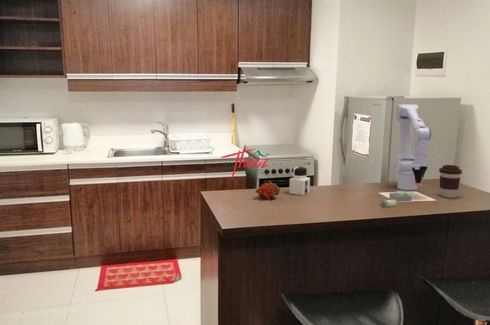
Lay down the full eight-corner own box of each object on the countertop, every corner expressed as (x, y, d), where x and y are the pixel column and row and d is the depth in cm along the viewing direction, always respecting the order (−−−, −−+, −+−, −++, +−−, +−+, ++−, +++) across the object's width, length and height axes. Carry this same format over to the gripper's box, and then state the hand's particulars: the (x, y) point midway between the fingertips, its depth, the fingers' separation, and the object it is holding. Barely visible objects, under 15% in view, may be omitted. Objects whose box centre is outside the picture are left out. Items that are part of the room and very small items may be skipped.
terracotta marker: (416, 184, 204) (417, 171, 203) (423, 185, 202) (424, 172, 201) (413, 185, 202) (414, 172, 201) (420, 186, 200) (421, 173, 198)
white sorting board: (415, 192, 216) (415, 186, 215) (436, 202, 198) (437, 195, 198) (378, 194, 212) (378, 187, 212) (396, 203, 195) (396, 196, 194)
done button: (402, 196, 201) (402, 190, 201) (406, 198, 198) (406, 192, 197) (394, 197, 201) (394, 190, 200) (398, 199, 197) (399, 192, 197)
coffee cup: (437, 197, 206) (440, 167, 204) (436, 193, 215) (439, 163, 213) (460, 199, 202) (463, 168, 200) (458, 195, 211) (461, 165, 209)
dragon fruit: (281, 201, 204) (257, 206, 203) (276, 188, 210) (253, 192, 208) (283, 189, 198) (257, 194, 196) (277, 176, 204) (253, 181, 202)
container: (309, 192, 215) (310, 167, 213) (303, 195, 209) (304, 169, 207) (295, 190, 219) (296, 165, 217) (289, 193, 213) (289, 168, 211)
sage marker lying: (392, 205, 191) (393, 198, 191) (396, 208, 188) (397, 200, 187) (380, 206, 190) (380, 199, 190) (383, 208, 187) (384, 200, 186)
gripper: (415, 151, 207) (413, 178, 210) (408, 154, 195) (406, 184, 198) (430, 152, 204) (428, 180, 206) (424, 156, 192) (422, 185, 194)
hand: (418, 182), depth 202 cm, fingers closed on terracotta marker, 3 cm apart
